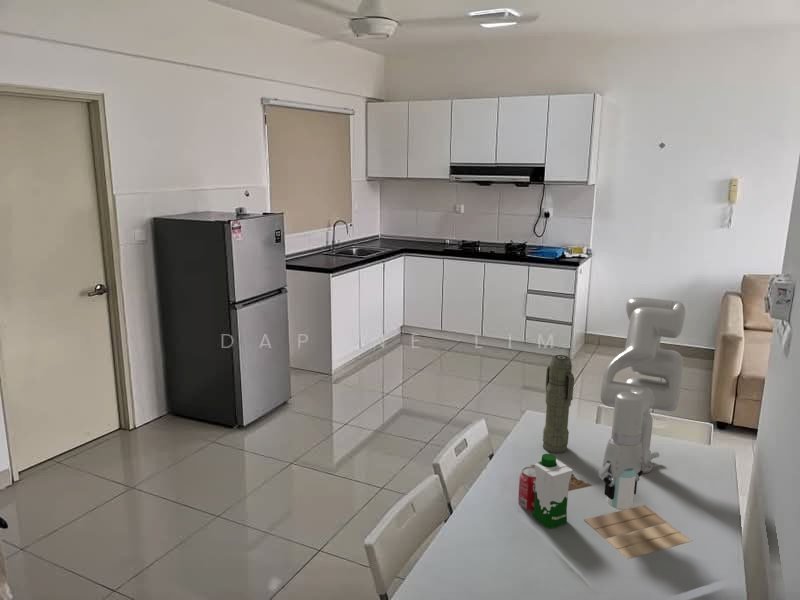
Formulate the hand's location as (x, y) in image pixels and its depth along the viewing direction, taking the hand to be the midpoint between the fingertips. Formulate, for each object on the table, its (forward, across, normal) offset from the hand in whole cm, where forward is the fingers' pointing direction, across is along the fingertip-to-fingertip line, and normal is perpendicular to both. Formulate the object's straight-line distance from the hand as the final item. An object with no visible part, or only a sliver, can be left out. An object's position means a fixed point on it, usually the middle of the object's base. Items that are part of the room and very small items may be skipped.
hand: (620, 493), depth 173 cm
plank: (+11, -3, 0) cm, 11 cm away
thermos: (+11, -12, -48) cm, 50 cm away
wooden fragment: (+11, -1, -28) cm, 30 cm away
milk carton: (+11, +17, -9) cm, 22 cm away
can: (+3, 0, 0) cm, 3 cm away
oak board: (+11, -3, +9) cm, 14 cm away
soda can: (+11, +18, -18) cm, 27 cm away
